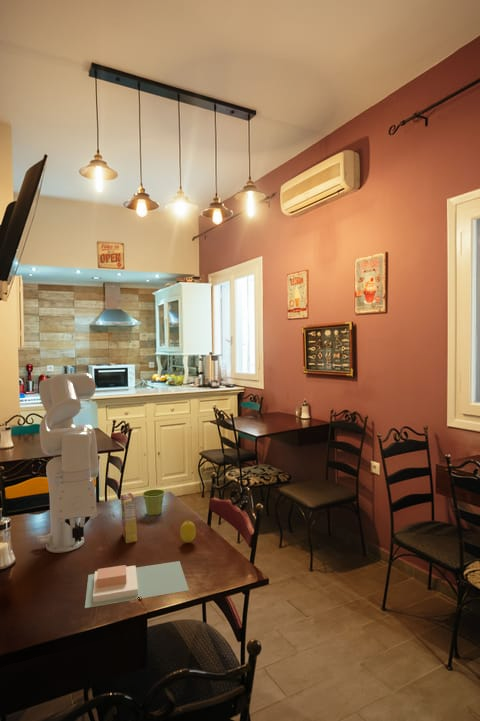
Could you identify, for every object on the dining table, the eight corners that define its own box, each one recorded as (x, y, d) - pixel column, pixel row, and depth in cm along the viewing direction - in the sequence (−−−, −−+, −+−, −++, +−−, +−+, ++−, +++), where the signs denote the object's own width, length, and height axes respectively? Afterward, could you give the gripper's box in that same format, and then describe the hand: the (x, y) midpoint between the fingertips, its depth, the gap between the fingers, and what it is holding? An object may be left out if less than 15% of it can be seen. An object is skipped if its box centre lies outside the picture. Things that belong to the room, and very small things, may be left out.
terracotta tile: (97, 588, 122) (97, 579, 122) (97, 577, 128) (97, 569, 128) (126, 583, 124) (126, 574, 124) (125, 573, 130) (125, 564, 130)
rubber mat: (84, 609, 116) (84, 608, 116) (88, 575, 133) (88, 574, 133) (188, 591, 124) (188, 590, 124) (179, 561, 141) (179, 561, 141)
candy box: (121, 534, 163) (120, 493, 163) (133, 532, 165) (132, 492, 164) (125, 543, 155) (124, 501, 154) (137, 541, 156) (136, 499, 156)
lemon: (198, 541, 156) (198, 519, 156) (190, 547, 151) (190, 524, 151) (185, 538, 158) (185, 516, 158) (177, 544, 153) (177, 522, 153)
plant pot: (154, 518, 177) (153, 497, 177) (138, 514, 182) (137, 494, 182) (170, 511, 185) (169, 491, 185) (153, 507, 190) (153, 487, 190)
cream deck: (93, 602, 118) (92, 596, 118) (95, 576, 132) (94, 571, 132) (138, 594, 122) (138, 588, 121) (135, 570, 135) (135, 565, 135)
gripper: (46, 481, 117) (47, 549, 117) (103, 476, 121) (105, 541, 121) (49, 474, 124) (51, 538, 124) (104, 469, 129) (106, 531, 129)
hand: (78, 539), depth 123 cm, fingers closed
